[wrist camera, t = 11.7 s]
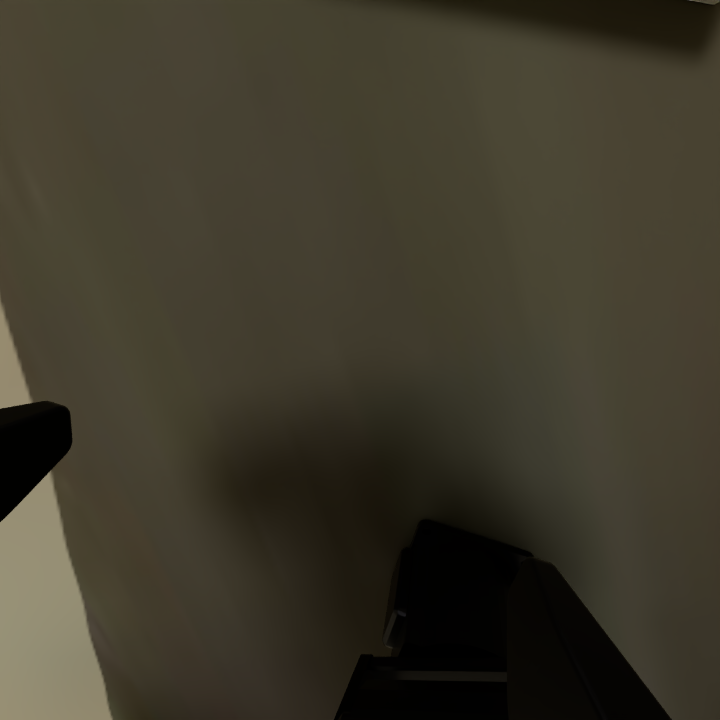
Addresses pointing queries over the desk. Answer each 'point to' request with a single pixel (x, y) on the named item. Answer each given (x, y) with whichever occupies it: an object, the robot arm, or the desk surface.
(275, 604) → the desk surface
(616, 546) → the desk surface
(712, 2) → the housing
